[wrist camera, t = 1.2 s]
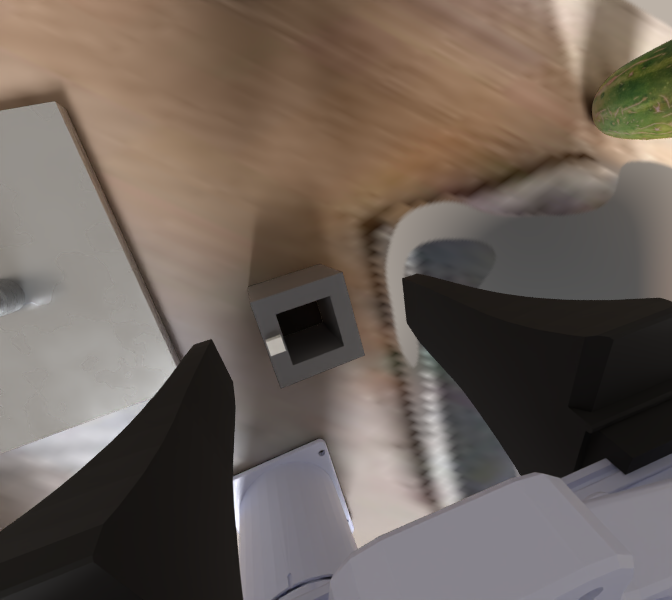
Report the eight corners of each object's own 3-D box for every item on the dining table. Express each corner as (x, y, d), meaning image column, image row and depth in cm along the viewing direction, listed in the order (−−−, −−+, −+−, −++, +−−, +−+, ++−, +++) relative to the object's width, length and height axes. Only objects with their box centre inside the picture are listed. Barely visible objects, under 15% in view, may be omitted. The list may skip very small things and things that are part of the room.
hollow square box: (339, 330, 23) (367, 357, 18) (272, 355, 22) (281, 391, 17) (320, 263, 21) (344, 273, 16) (247, 286, 20) (249, 304, 15)
